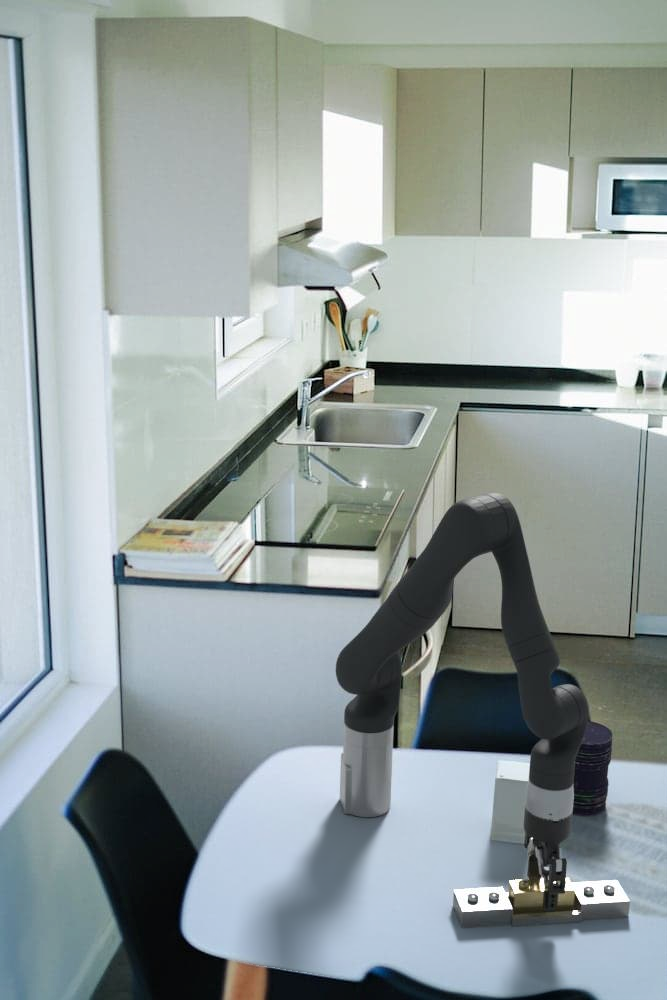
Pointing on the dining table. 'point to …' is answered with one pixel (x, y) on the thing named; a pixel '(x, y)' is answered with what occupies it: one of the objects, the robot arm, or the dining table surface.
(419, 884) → the dining table surface
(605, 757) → the dark purple cylinder
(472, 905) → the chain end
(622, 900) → the chain end
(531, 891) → the link
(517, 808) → the supplement box
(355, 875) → the dining table surface
